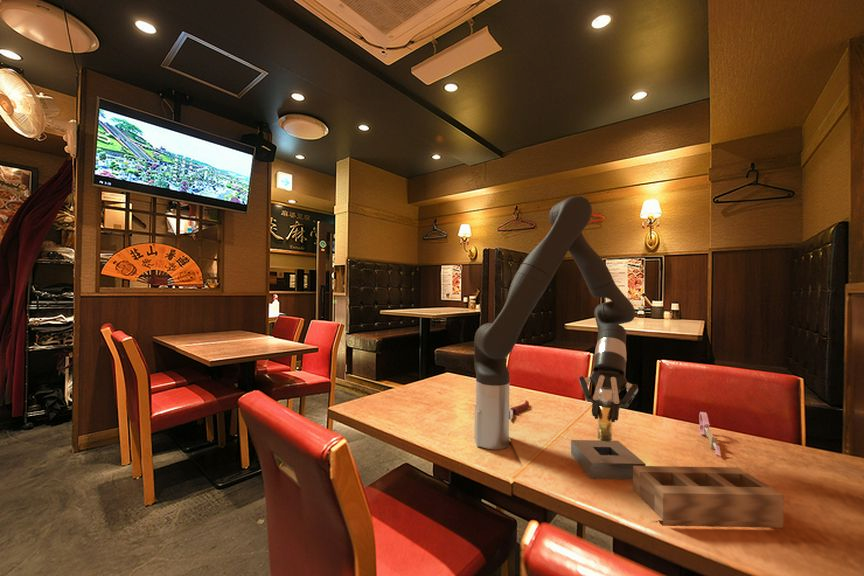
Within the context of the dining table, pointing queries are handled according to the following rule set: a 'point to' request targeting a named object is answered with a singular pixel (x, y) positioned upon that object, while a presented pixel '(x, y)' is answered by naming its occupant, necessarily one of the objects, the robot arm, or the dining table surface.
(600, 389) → the gold clear cylinder
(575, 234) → the robot arm
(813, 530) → the dining table surface
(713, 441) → the decorative key
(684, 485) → the vial rack
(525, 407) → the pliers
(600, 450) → the socket block
